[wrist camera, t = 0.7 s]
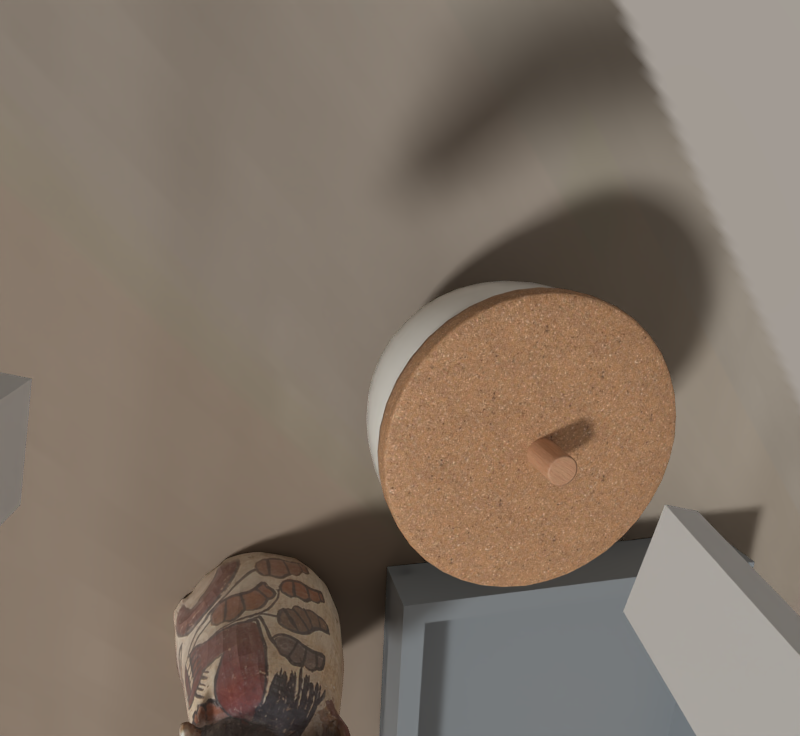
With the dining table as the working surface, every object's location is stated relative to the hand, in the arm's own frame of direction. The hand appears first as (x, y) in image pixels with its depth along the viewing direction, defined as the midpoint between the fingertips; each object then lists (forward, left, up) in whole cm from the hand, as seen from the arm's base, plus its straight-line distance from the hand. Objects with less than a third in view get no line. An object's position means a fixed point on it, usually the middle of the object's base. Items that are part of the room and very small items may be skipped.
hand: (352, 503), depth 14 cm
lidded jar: (+2, +8, -15) cm, 17 cm away
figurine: (+13, -1, -15) cm, 20 cm away
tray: (+20, +14, -14) cm, 28 cm away
